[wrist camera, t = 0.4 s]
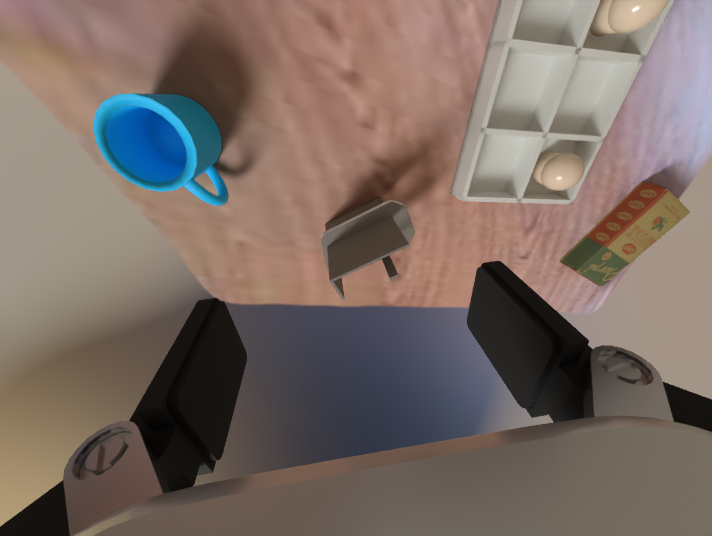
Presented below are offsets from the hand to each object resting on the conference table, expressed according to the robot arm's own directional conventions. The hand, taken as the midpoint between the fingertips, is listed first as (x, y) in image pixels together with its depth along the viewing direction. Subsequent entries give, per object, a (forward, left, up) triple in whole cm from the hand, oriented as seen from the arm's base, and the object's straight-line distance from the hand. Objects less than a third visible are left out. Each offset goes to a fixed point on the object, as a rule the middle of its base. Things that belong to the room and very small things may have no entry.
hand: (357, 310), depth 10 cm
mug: (0, -15, -30) cm, 33 cm away
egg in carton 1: (-1, +30, -29) cm, 41 cm away
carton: (+10, +49, -30) cm, 58 cm away
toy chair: (+8, +4, -30) cm, 31 cm away
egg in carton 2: (-17, +30, -29) cm, 45 cm away
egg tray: (-9, +26, -29) cm, 40 cm away
